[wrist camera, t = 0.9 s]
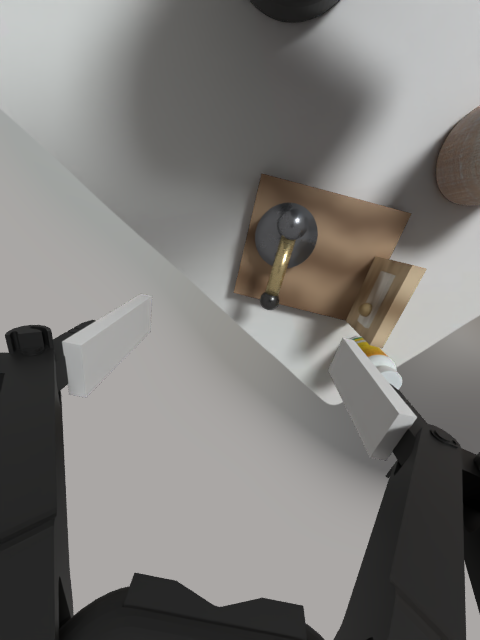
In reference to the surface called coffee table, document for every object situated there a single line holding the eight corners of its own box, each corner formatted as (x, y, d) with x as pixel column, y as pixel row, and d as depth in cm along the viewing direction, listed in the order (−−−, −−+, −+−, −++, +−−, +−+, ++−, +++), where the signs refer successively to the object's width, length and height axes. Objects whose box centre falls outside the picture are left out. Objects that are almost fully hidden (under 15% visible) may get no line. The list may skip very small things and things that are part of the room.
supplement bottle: (379, 348, 39) (417, 383, 30) (354, 367, 41) (382, 406, 32) (359, 328, 38) (392, 359, 29) (334, 349, 39) (357, 384, 31)
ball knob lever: (263, 197, 29) (265, 190, 24) (322, 212, 30) (337, 209, 24) (240, 293, 34) (237, 305, 29) (290, 305, 35) (297, 319, 29)
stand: (261, 176, 30) (263, 154, 21) (402, 214, 31) (464, 208, 22) (234, 289, 36) (227, 310, 27) (352, 318, 37) (385, 349, 28)
